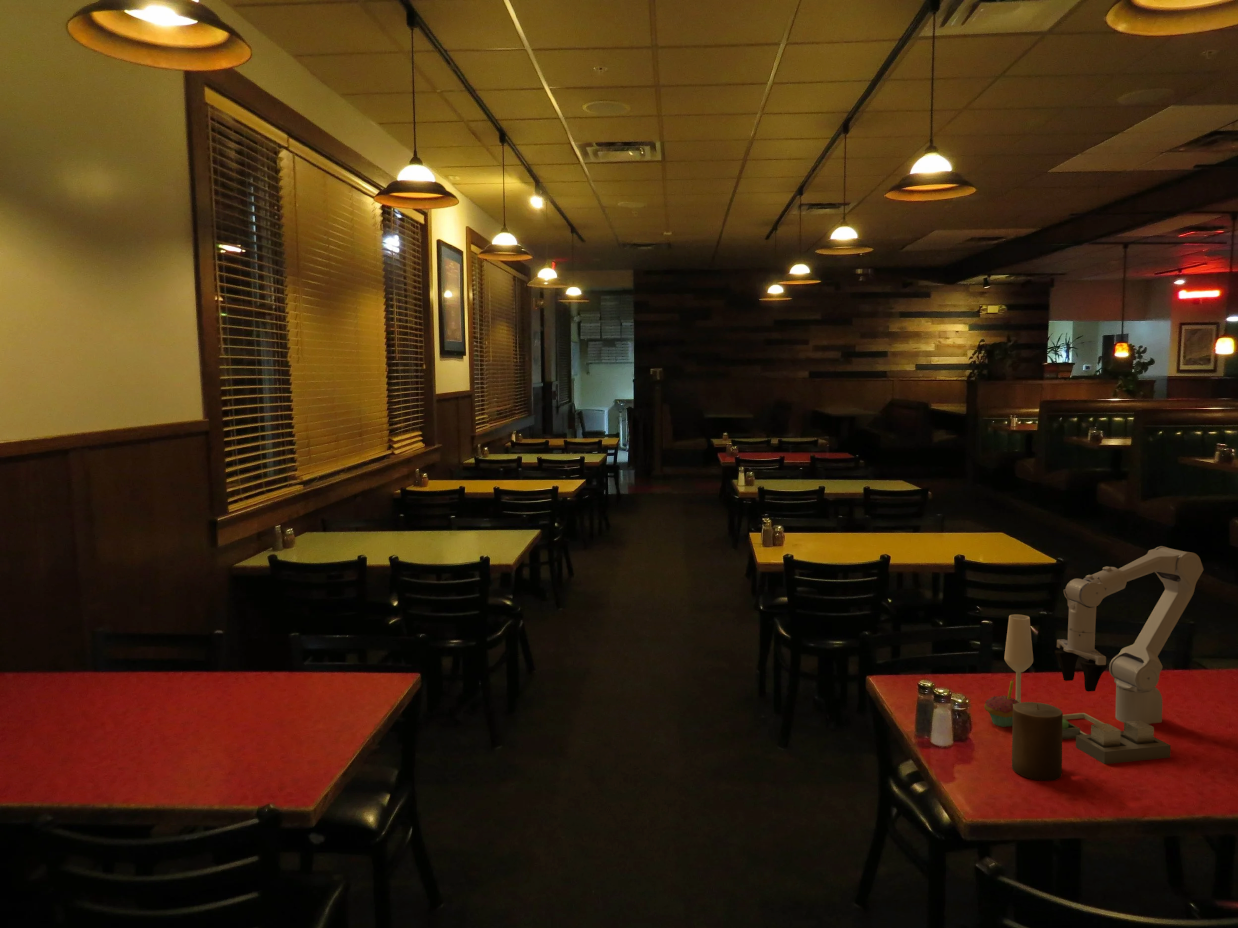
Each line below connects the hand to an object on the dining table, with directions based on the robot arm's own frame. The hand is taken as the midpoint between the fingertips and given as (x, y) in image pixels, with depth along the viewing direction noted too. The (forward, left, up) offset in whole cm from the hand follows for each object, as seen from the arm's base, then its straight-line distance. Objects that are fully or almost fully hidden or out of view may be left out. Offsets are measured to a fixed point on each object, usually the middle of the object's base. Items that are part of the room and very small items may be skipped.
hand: (1079, 685), depth 205 cm
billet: (+6, +16, -10) cm, 19 cm away
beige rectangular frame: (0, +3, -10) cm, 11 cm away
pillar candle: (+24, +19, -11) cm, 33 cm away
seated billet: (-3, +16, -10) cm, 19 cm away
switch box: (+8, +4, -10) cm, 14 cm away
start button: (+8, +4, -10) cm, 13 cm away
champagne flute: (+6, -14, -11) cm, 19 cm away
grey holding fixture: (+1, +16, -10) cm, 19 cm away
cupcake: (+16, -5, -11) cm, 20 cm away
